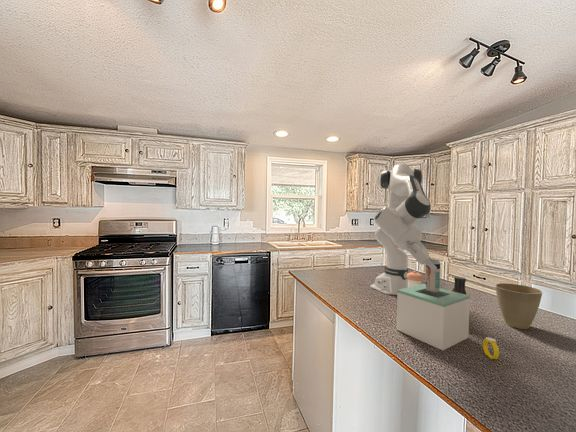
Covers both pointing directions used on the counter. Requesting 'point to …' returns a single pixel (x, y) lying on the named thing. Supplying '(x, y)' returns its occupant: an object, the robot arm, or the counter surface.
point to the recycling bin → (433, 315)
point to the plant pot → (518, 304)
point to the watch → (495, 347)
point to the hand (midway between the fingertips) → (435, 267)
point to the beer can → (433, 277)
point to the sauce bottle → (459, 285)
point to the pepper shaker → (414, 278)
